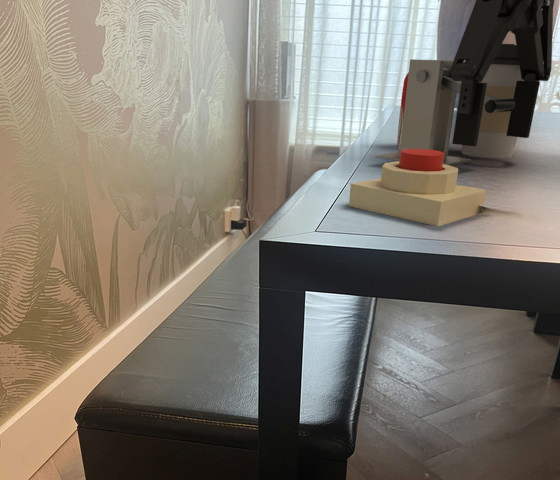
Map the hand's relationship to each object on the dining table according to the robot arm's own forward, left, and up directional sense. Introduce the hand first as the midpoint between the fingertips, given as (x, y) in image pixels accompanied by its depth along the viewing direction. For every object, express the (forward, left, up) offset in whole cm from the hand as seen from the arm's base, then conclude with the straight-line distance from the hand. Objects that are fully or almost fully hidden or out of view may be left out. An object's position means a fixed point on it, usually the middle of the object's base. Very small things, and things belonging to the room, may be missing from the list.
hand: (492, 140), depth 74 cm
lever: (+5, 0, +4) cm, 7 cm away
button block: (-5, +23, -4) cm, 24 cm away
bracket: (+9, 0, -4) cm, 10 cm away
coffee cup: (+6, -12, -4) cm, 14 cm away
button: (-5, +23, -1) cm, 23 cm away
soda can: (+15, -8, -4) cm, 18 cm away
